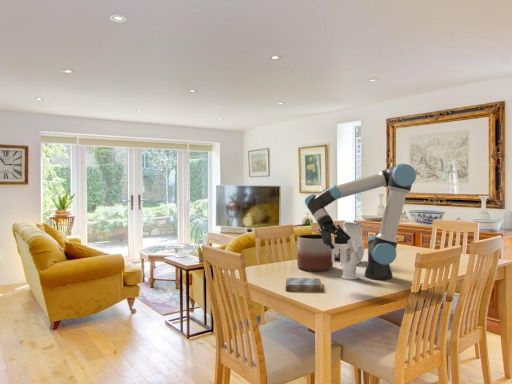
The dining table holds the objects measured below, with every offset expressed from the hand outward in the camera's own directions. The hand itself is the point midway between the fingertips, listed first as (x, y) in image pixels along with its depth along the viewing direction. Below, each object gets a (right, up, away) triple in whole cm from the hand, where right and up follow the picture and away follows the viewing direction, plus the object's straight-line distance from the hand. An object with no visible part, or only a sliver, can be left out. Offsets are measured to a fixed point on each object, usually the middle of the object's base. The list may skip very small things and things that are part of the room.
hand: (345, 252), depth 199 cm
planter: (-8, -18, +51) cm, 54 cm away
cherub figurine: (+10, -18, +26) cm, 33 cm away
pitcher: (+19, -17, +72) cm, 77 cm away
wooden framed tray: (-20, -19, +6) cm, 28 cm away
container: (-2, -5, +3) cm, 6 cm away
